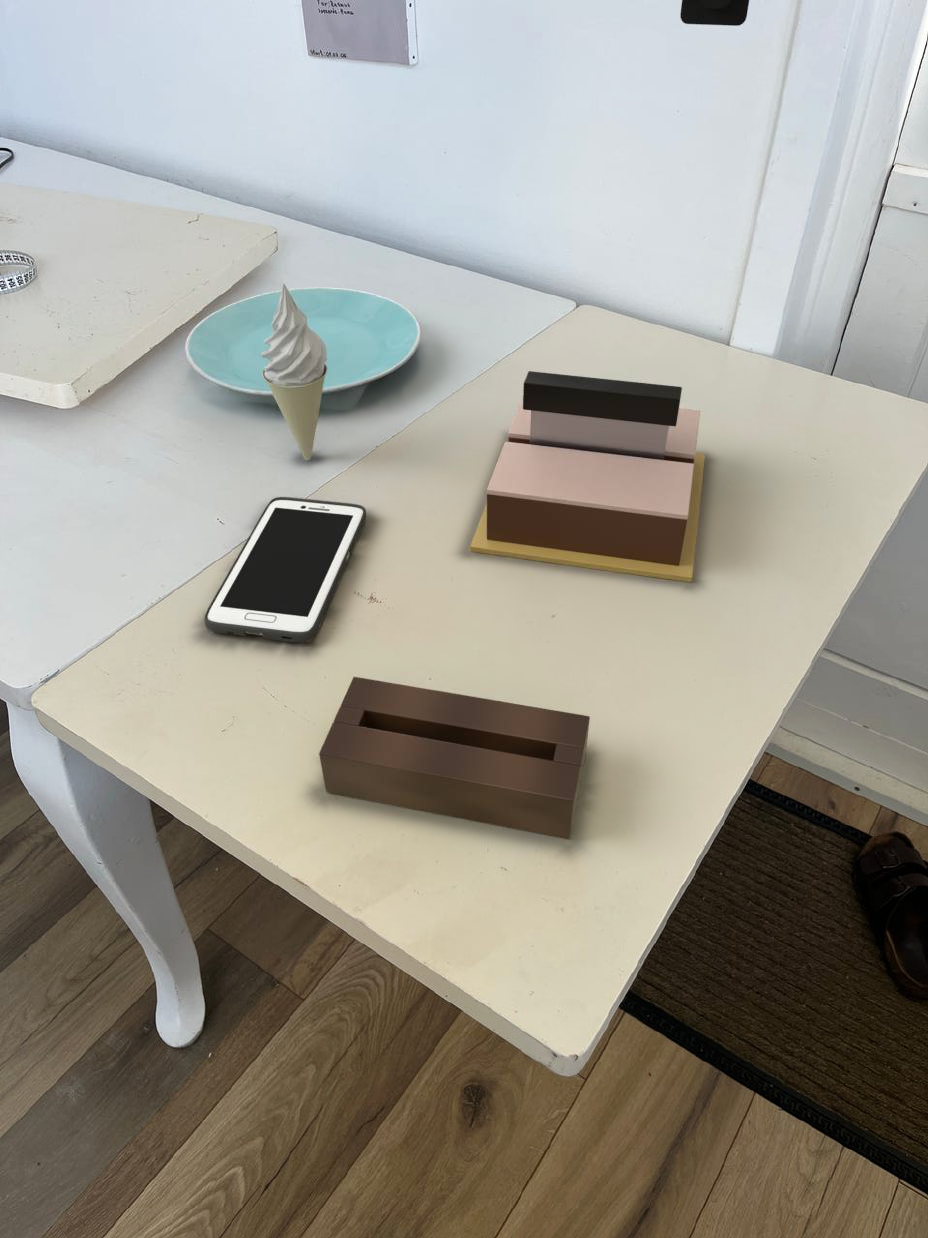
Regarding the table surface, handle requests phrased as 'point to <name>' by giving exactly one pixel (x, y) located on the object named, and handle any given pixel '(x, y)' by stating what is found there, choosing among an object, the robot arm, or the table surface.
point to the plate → (343, 318)
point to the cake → (596, 504)
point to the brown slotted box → (457, 756)
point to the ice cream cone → (296, 370)
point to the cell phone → (287, 570)
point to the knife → (600, 414)
